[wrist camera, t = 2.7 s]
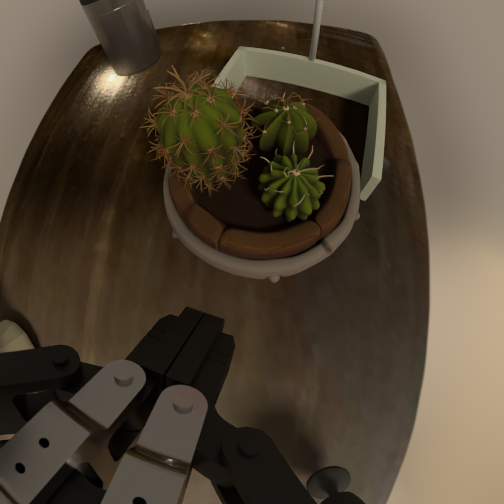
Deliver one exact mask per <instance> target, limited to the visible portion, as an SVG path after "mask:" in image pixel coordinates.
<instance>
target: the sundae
mask: <svg viewBox="0 0 504 504" xmlns="http://www.w3.org/2000/svg"><path fill="white" fill-rule="evenodd" d="M350 480H351V478H350V474H349V472H348V471H347V470H345V469H343V468H340V467H331V468H327V469H324V470H321V471H319V472H318V473H316V474H315V475H314V476H312V477H311V479H310V480H309V482H308V485H307V490H308V492H309V493H310V495H312V496H313V497H316V498H319V499H325V500H324V501H322V502H321V504H365V503H364V502H363V501H362V500H361V499H360V498H359V497H357V496H356V495H355V494H353V493H351V492H343V491H344V490H345V489H346V488H347V487H348V485H349V483H350Z"/></svg>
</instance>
